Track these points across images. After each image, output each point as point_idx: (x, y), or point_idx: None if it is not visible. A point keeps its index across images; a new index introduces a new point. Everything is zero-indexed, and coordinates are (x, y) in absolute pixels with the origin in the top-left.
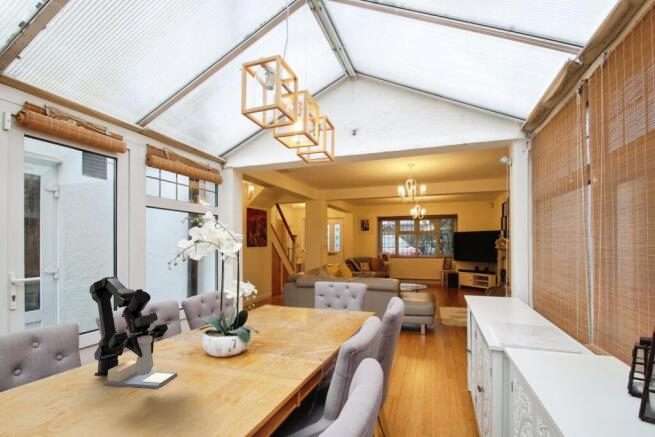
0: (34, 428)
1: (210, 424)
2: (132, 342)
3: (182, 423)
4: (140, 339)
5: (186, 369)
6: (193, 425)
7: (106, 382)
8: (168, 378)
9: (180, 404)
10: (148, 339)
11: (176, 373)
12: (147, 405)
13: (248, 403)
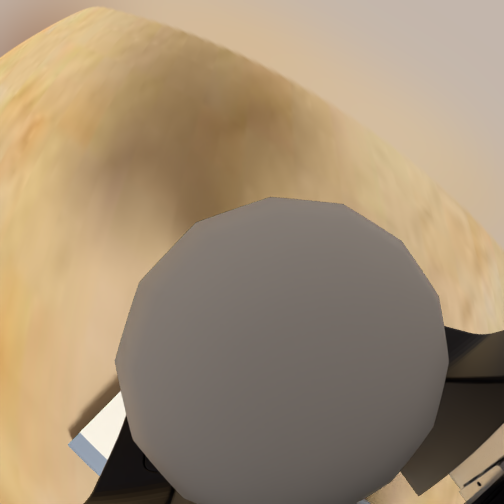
0: (490, 248)
1: (122, 30)
2: (490, 340)
3: (166, 49)
4: (430, 284)
5: (37, 468)
6: (150, 36)
7: (365, 500)
8: (106, 405)
9: (128, 134)
10: (243, 208)
11: (71, 441)
12: (227, 190)
13: (20, 73)
